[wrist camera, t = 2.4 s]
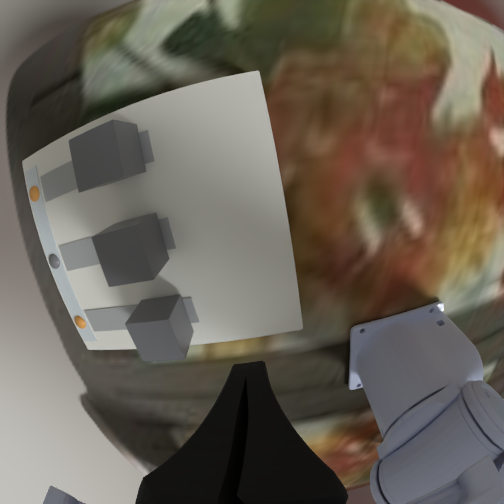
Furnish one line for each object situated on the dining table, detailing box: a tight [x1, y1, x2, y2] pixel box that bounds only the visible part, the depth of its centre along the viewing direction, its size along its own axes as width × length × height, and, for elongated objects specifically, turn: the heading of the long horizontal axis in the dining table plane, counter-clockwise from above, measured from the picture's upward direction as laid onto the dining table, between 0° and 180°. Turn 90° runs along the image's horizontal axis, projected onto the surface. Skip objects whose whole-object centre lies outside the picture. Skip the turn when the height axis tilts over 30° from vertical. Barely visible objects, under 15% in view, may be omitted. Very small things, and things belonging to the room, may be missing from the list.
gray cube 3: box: [69, 120, 146, 193], centre depth 13 cm, size 3×3×3 cm
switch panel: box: [22, 71, 303, 350], centre depth 17 cm, size 18×17×2 cm
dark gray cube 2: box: [91, 213, 169, 287], centre depth 15 cm, size 3×3×3 cm
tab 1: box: [125, 294, 194, 361], centre depth 16 cm, size 3×3×3 cm
